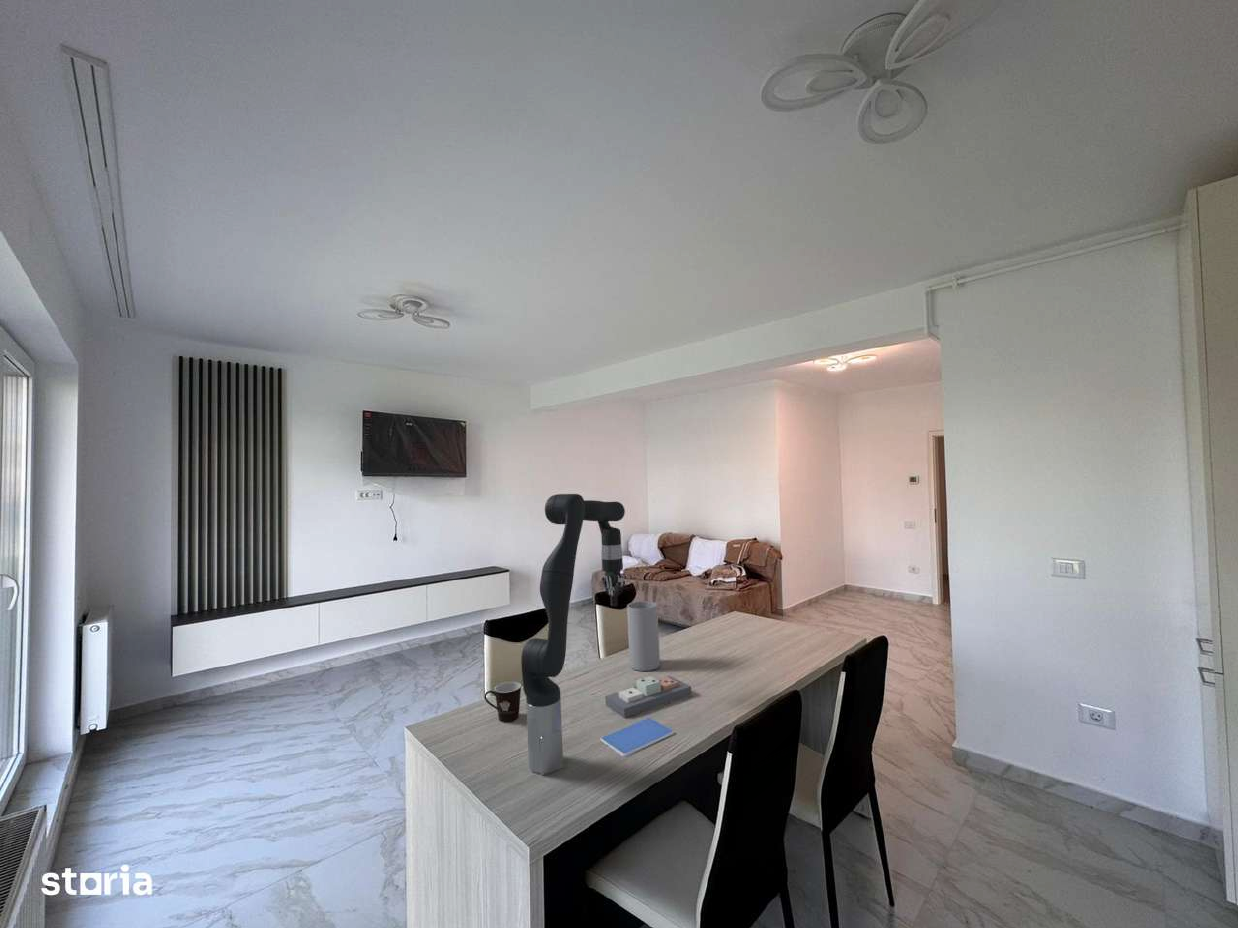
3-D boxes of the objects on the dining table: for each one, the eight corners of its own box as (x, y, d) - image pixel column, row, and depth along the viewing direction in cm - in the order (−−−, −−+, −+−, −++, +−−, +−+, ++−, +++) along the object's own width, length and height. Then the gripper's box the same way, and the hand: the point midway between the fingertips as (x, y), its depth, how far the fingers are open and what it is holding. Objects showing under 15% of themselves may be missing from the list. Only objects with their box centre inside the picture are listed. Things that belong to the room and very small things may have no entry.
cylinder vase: (660, 660, 205) (657, 601, 206) (659, 671, 193) (656, 608, 194) (631, 660, 206) (628, 601, 208) (628, 672, 194) (625, 609, 195)
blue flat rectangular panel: (624, 759, 133) (623, 754, 133) (598, 741, 143) (598, 737, 143) (676, 735, 144) (675, 731, 144) (649, 720, 154) (649, 716, 154)
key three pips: (678, 692, 171) (677, 681, 171) (664, 696, 168) (664, 685, 168) (667, 686, 176) (667, 676, 176) (654, 690, 173) (653, 680, 173)
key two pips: (660, 691, 167) (660, 680, 167) (646, 696, 164) (646, 685, 164) (650, 686, 172) (650, 675, 172) (636, 690, 169) (636, 679, 169)
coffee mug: (527, 714, 161) (526, 684, 161) (509, 726, 154) (508, 694, 154) (502, 708, 167) (500, 678, 167) (483, 719, 159) (482, 688, 160)
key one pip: (643, 703, 163) (642, 692, 163) (628, 708, 160) (627, 697, 160) (633, 697, 168) (633, 686, 168) (618, 702, 165) (618, 691, 165)
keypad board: (691, 694, 170) (690, 686, 170) (624, 718, 155) (624, 708, 155) (670, 684, 180) (670, 675, 180) (605, 704, 166) (605, 695, 166)
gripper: (630, 557, 171) (633, 607, 170) (611, 554, 182) (613, 600, 181) (612, 560, 167) (614, 611, 166) (594, 556, 178) (596, 604, 177)
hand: (614, 605), depth 173 cm, fingers closed
